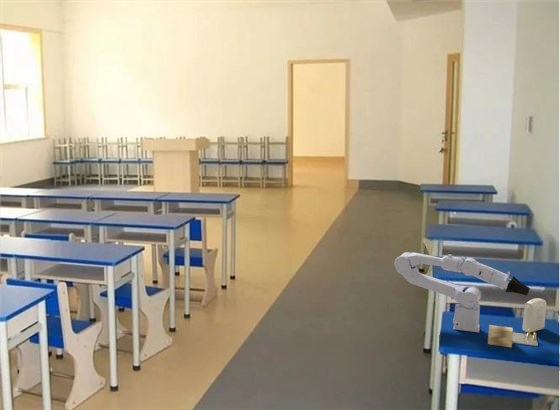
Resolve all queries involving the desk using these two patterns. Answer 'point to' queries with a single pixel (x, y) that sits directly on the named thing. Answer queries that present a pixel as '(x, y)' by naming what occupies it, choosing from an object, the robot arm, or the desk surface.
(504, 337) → the board
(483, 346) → the desk surface
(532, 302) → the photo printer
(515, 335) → the plate
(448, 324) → the desk surface
